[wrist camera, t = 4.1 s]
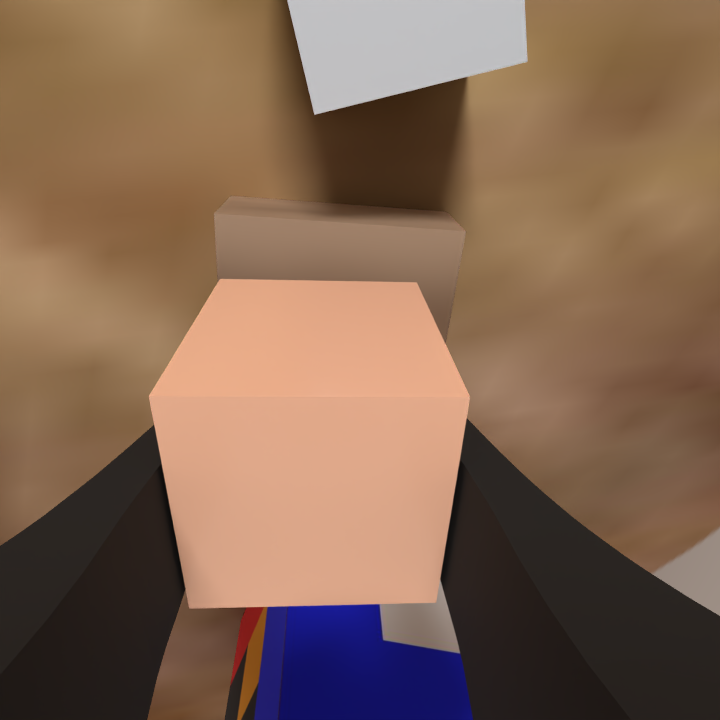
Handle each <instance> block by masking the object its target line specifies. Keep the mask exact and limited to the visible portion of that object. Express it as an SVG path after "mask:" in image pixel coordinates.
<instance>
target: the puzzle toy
mask: <svg viewBox="0 0 720 720" xmlns="http://www.w3.org/2000/svg"><path fill="white" fill-rule="evenodd" d="M225 720H473V717H472V711H471V706H470V700H469V695H468V689H467V684H466V678H465V673H464V667H463V663H462V659H461V655H460V650H459V646H458V642H457V638H456V635H455V631H454V627H453V624H452V620H451V617H450V613H449V609H448V606H447V602H446V599H445V595H444V591H443V588H442V584H441V581H440V583H439V589H438V595H437V601H436V603H403V604H360V605H318V606H276V607H246V610H245V612H244V615H243V617H242V620H241V624H240V630H239V636H238V642H237V648H236V654H235V660H234V667H233V673H232V679H231V685H230V691H229V697H228V703H227V709H226V715H225Z"/></svg>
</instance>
